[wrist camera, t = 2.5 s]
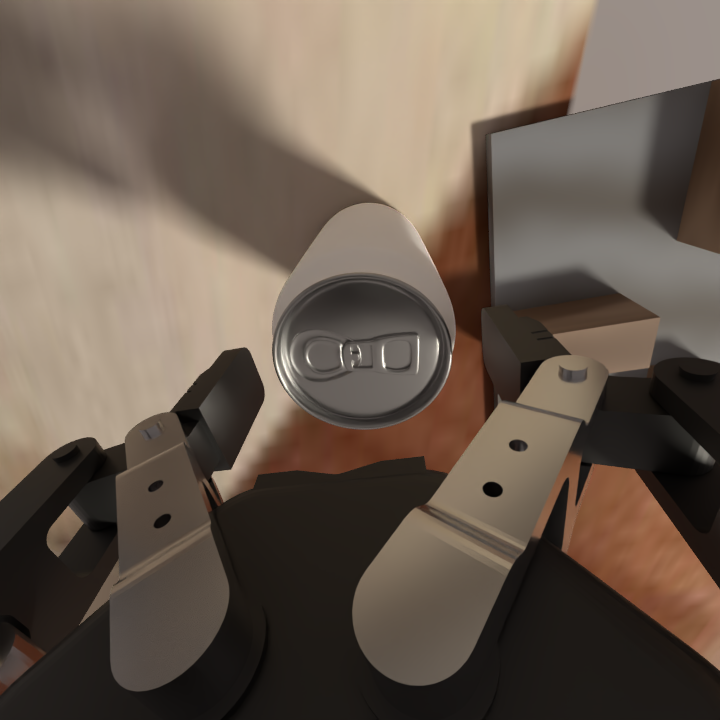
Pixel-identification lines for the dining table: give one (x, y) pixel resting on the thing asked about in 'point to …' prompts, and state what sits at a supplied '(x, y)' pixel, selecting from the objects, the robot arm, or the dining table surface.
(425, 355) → the can
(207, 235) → the dining table surface
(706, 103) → the crossing block
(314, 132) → the dining table surface
